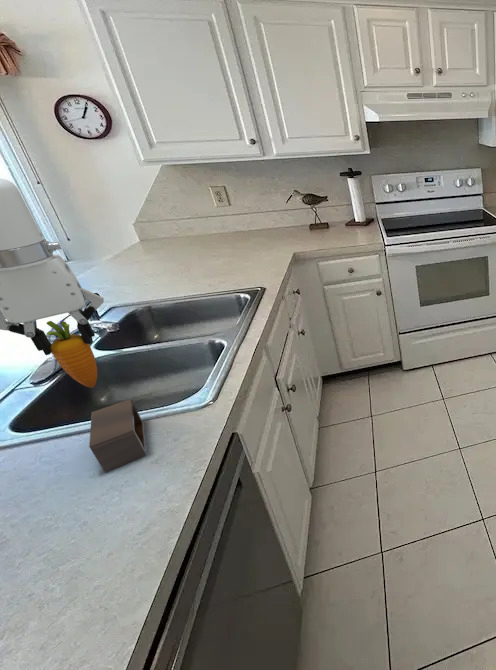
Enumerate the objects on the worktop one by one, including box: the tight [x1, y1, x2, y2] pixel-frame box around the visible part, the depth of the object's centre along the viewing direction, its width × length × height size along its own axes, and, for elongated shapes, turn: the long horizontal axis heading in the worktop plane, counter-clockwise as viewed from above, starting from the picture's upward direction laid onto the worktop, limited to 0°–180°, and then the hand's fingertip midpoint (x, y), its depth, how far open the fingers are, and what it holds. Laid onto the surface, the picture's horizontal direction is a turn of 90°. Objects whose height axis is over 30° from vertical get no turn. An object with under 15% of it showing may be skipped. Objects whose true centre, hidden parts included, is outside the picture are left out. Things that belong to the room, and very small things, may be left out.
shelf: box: [88, 398, 147, 474], centre depth 87 cm, size 13×7×7 cm, turn 41°
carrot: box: [46, 320, 98, 389], centre depth 78 cm, size 5×5×15 cm
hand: (69, 345), depth 77 cm, fingers closed on carrot, 4 cm apart
